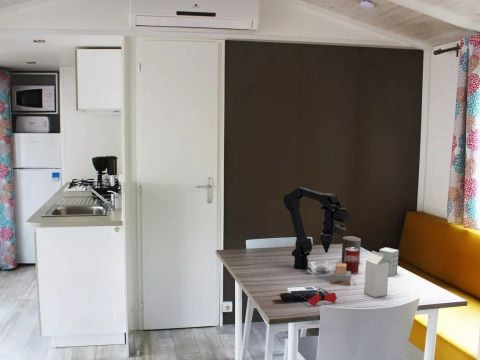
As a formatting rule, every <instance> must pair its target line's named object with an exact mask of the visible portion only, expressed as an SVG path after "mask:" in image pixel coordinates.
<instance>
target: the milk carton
mask: <svg viewBox="0 0 480 360" xmlns="http://www.w3.org/2000/svg"><path fill="white" fill-rule="evenodd" d="M388 269H389V262H388V261H387V260H386V259H385V258H384V256H383V254H380V253H379V252H377V251H374V250H371V253H370V254H369V256H367V258H366V259H365V269H364V270H365V271H364V289H363V291H364V294H367V295H369V296H371V297H374V298H378V297H379V298H380V297H383V296H387V295H388V284H389V283H388V282H389V276H388Z"/></svg>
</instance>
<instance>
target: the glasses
mask: <svg viewBox="0 0 480 360" xmlns="http://www.w3.org/2000/svg"><path fill="white" fill-rule="evenodd" d="M317 290H319V291H320V290H322V291H323V292H325V293H324V298H323V296H321V295H322V293H320V294H313V295H311V296H309V298H308V299H307V298H306V297H305V296H303V295H301V294H300V293H299V292H297V293H296V294H297V295H298V294H299V295H298V296H300V297H301V298H303V299H304V300H306V301H307V302H308V304H310V305H311V306H313V307H314V305H315V306H317V304H318V303H320V302H321V300H322V298H323V301H326V302H328V303H335V302H336V300H337V299H338V297H337V295H336V292H329V291H327V290H325V289H323V288H319V289H317Z"/></svg>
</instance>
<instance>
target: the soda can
mask: <svg viewBox="0 0 480 360" xmlns="http://www.w3.org/2000/svg"><path fill="white" fill-rule="evenodd" d="M344 264H346V271H351V275H356V274H358V273H359V268H360V261H359V249H357V248H346V249H345V258H344Z"/></svg>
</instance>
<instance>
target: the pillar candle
mask: <svg viewBox="0 0 480 360" xmlns="http://www.w3.org/2000/svg"><path fill="white" fill-rule="evenodd" d="M361 241H362V239H361V238H359V237H357V236H352V235H349V236H346V235H345V236H342V245H341V247H342V248H341V262H340V263H342V264H344V258H345V249H346V248H357V249H359V262H360V258H361V244H362V243H361Z"/></svg>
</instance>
